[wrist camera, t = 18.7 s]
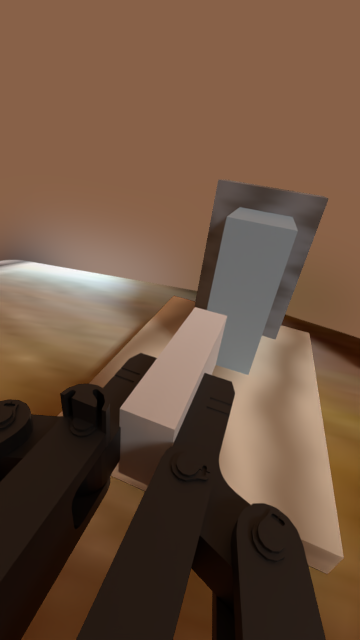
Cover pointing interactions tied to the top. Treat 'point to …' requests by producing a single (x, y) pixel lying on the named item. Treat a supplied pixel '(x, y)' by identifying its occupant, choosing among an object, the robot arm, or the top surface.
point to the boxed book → (248, 280)
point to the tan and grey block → (264, 385)
